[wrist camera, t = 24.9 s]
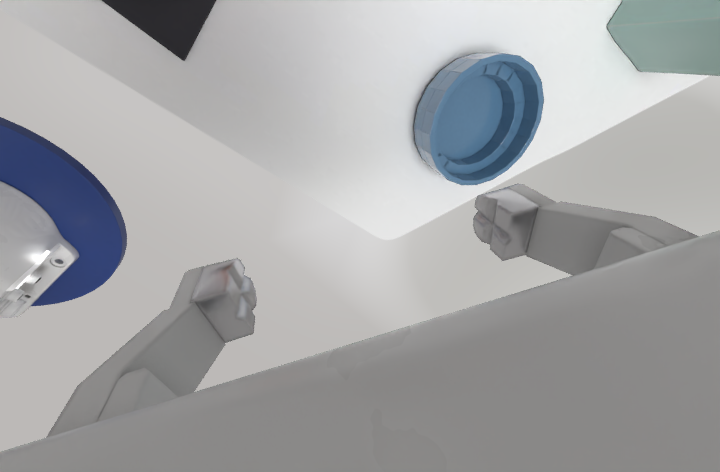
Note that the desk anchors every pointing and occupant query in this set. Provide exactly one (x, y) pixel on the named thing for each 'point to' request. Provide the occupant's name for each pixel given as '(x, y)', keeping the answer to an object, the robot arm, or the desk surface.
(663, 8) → the planter
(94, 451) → the robot arm
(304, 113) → the desk surface
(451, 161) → the bowl
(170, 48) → the mat
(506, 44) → the desk surface
